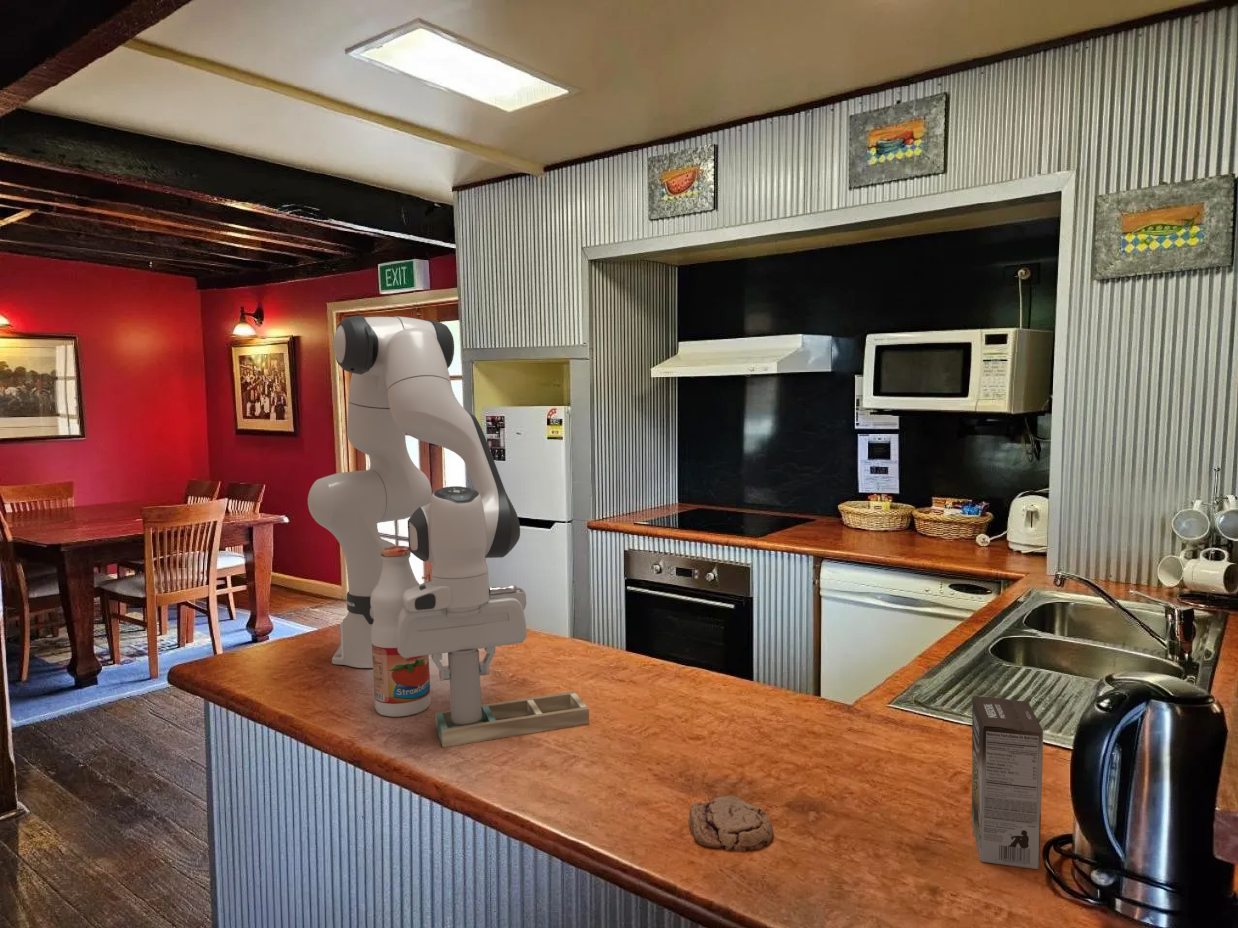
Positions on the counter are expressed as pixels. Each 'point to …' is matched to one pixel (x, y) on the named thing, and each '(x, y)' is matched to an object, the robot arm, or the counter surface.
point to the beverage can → (465, 687)
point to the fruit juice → (395, 642)
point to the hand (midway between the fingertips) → (464, 676)
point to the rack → (515, 719)
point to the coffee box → (1006, 781)
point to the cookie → (730, 824)
